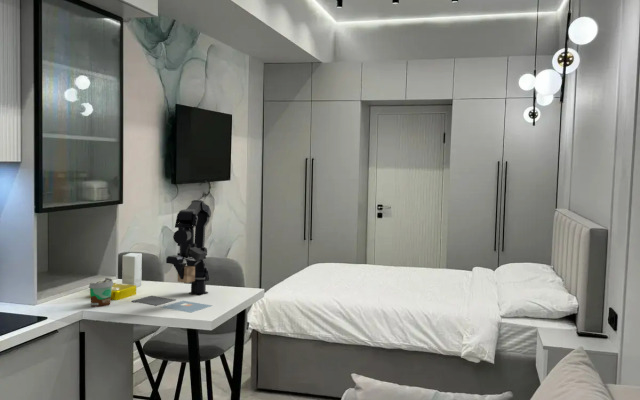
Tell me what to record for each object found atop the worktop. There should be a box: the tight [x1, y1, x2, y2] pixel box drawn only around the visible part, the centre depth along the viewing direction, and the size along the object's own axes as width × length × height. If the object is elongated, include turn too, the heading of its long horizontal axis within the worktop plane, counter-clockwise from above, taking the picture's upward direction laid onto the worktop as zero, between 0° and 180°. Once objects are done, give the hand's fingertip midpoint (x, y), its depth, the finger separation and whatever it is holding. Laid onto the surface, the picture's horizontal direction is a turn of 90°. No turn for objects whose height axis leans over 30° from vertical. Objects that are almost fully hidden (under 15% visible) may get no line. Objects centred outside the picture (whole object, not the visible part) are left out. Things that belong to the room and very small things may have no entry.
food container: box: [88, 277, 114, 308], centre depth 242 cm, size 12×6×10 cm, turn 168°
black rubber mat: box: [131, 295, 176, 307], centre depth 251 cm, size 12×14×1 cm
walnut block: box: [177, 265, 195, 284], centre depth 245 cm, size 5×5×6 cm
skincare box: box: [121, 252, 143, 288], centre depth 278 cm, size 8×7×16 cm
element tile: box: [89, 282, 137, 301], centre depth 259 cm, size 15×15×5 cm
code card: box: [161, 300, 213, 313], centre depth 243 cm, size 14×16×1 cm
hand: (186, 278), depth 245 cm, fingers closed on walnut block, 5 cm apart
